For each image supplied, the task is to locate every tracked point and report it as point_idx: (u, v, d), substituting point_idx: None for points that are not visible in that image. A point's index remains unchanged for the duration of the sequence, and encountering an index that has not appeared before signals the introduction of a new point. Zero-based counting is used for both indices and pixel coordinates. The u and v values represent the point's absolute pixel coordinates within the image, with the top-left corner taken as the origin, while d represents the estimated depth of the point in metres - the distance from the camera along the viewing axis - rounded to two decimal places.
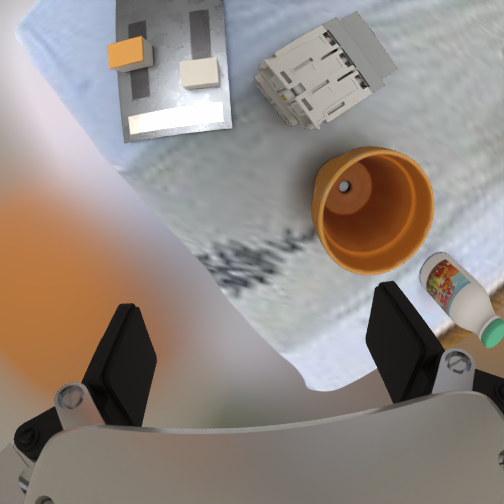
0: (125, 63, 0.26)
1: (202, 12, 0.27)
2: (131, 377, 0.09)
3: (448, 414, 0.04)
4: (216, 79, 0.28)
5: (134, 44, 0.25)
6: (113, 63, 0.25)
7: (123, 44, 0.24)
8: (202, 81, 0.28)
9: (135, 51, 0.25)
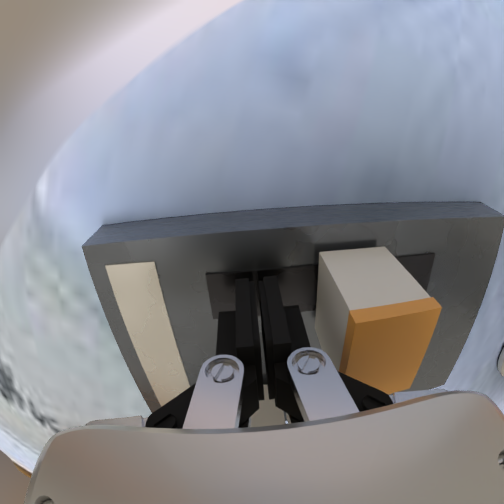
0: (349, 369, 0.09)
1: None
2: None
3: (448, 414, 0.04)
4: None
5: (396, 379, 0.09)
6: (368, 335, 0.08)
7: (414, 353, 0.09)
8: None
9: (374, 386, 0.09)
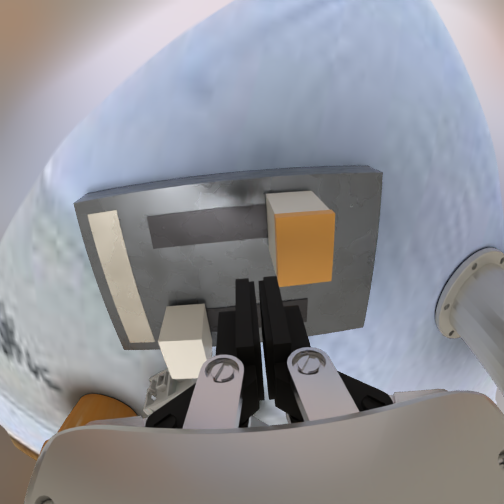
0: (279, 254, 0.16)
1: (302, 315, 0.24)
2: None
3: (448, 414, 0.04)
4: (176, 377, 0.20)
5: (317, 269, 0.16)
6: (286, 228, 0.15)
7: (324, 247, 0.16)
8: (170, 364, 0.20)
9: (301, 272, 0.16)
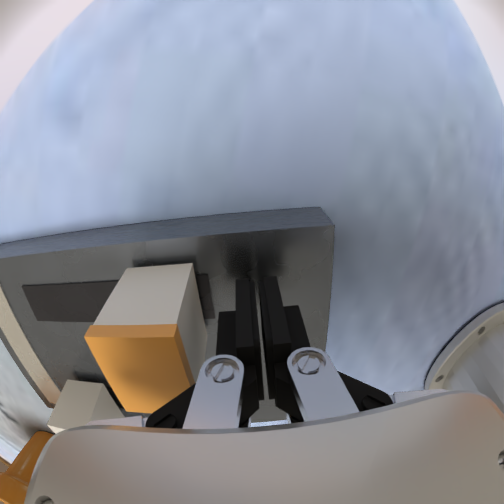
0: (109, 378, 0.09)
1: None
2: None
3: (448, 414, 0.04)
4: None
5: None
6: (103, 350, 0.08)
7: (173, 379, 0.09)
8: None
9: (149, 402, 0.10)
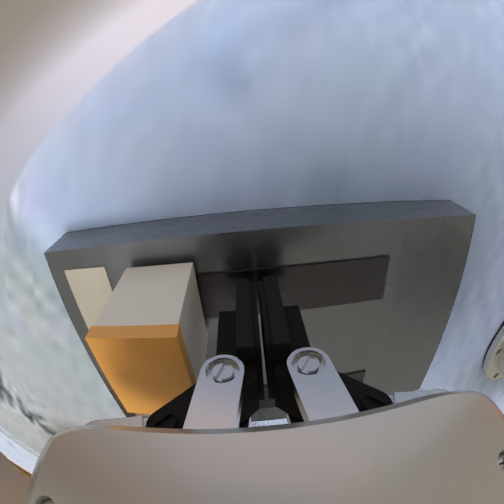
0: (110, 380, 0.09)
1: None
2: None
3: (448, 414, 0.04)
4: None
5: None
6: (104, 351, 0.08)
7: (175, 379, 0.09)
8: None
9: (151, 402, 0.10)
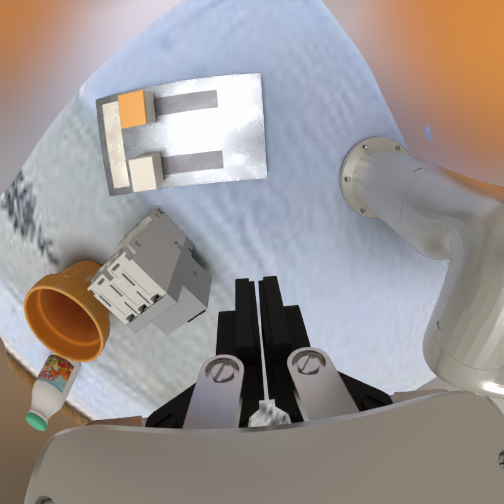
0: (120, 112, 0.29)
1: (220, 162, 0.37)
2: None
3: (448, 414, 0.04)
4: (136, 190, 0.34)
5: (138, 118, 0.29)
6: (122, 99, 0.28)
7: (140, 106, 0.29)
8: (133, 179, 0.33)
9: (130, 120, 0.30)
